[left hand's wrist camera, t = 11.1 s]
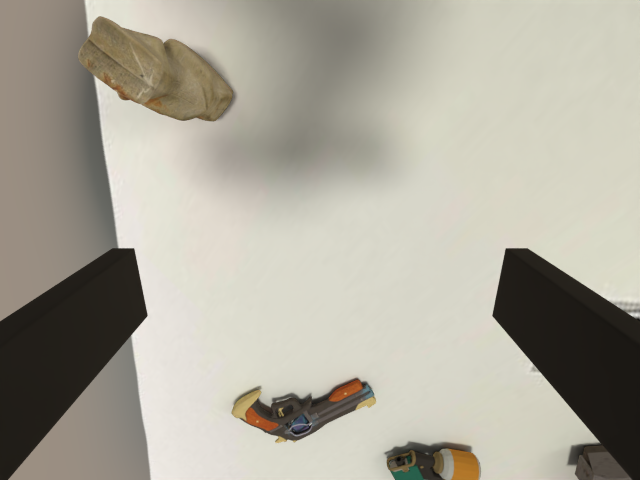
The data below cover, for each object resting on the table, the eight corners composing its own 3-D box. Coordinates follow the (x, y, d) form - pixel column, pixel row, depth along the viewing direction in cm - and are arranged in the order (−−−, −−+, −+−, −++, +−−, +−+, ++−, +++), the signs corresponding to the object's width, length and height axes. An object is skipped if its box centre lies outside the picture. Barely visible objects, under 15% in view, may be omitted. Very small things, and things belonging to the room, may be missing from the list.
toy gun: (225, 413, 48) (263, 465, 50) (345, 351, 46) (379, 407, 48) (230, 400, 51) (266, 450, 53) (343, 341, 49) (376, 395, 51)
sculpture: (191, 36, 34) (102, -18, 20) (247, 90, 36) (201, 75, 22) (158, 82, 36) (53, 62, 22) (213, 132, 38) (150, 144, 23)
